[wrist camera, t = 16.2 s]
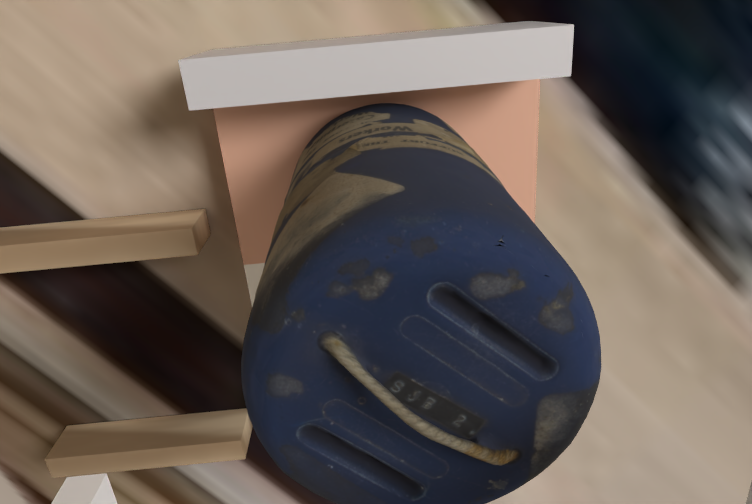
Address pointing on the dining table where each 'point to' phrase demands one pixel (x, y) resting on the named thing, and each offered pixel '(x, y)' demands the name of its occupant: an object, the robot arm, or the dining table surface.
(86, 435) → the rails
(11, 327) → the dining table surface
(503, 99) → the board
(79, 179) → the dining table surface
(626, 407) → the dining table surface
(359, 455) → the canister
